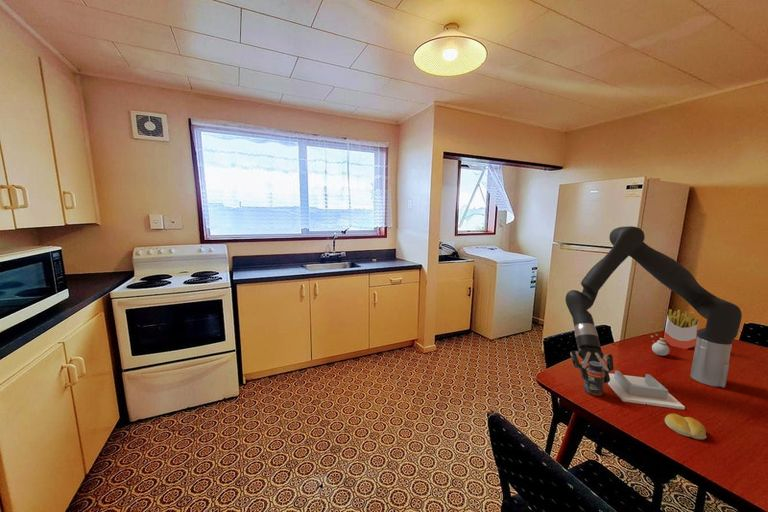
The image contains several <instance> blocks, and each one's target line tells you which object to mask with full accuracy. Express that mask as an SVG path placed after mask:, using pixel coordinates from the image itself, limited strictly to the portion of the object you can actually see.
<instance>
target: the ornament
mask: <svg viewBox="0 0 768 512" xmlns="http://www.w3.org/2000/svg"><path fill="white" fill-rule="evenodd" d="M655 336H656V337H657V336H658V333H657V334H656V333H655ZM650 337H651V338H654V336H653V335H650ZM651 349H652V352H653V353H654V354H656V355H657V356H667V355H668V354H669V353H670V347H669V345H667V342H666V341H665V339H664V337H659V340H657V341H656V342H655V341H654V340H653V344H652V345H651Z"/></svg>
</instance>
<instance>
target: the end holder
mask: <svg viewBox="0 0 768 512" xmlns="http://www.w3.org/2000/svg"><path fill="white" fill-rule="evenodd" d="M608 373H609V377H610V381H609V382H608V383H607V385H608V386H609V387H610V388H611V389H612V390H613V391H614V393H615V394H616V395H617V397H619V399H620V400H621V401H622V402H625V403H632V404H638V405H639V404H641V405H646V404H647V406H655V407H662V408H668V409H677V410H684V411H685V408H686V406H685V405H683V404H682V403H681V402H680V401H678V399H676V398H675V397H674V396H673V395H672V393H671V394H670V393H669V389H667V388H666V387H665V386H664V385H663V384H662V383H660V382H659V381H658V380H657V379H656V378H655V377H654V376H652V375H651V374H650V373H645V377H644V376H636V375H635V376H634V375H626V374H623V373H621V371H620V370H616V369H615V370H614V373H611V372H608Z"/></svg>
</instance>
